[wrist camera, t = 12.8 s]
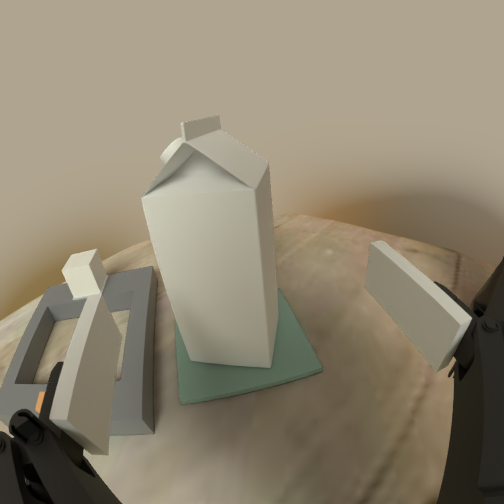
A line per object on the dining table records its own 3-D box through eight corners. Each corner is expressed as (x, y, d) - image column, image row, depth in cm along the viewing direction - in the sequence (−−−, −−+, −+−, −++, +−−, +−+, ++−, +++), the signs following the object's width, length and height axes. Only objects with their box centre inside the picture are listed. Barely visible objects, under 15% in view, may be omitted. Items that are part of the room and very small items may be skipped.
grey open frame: (157, 281, 36) (144, 236, 33) (154, 433, 17) (116, 387, 14) (55, 300, 34) (37, 261, 30) (8, 427, 15) (-34, 384, 11)
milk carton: (278, 313, 28) (264, 111, 19) (271, 369, 22) (248, 114, 13) (211, 311, 29) (175, 122, 20) (190, 362, 23) (126, 134, 14)
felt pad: (279, 292, 32) (279, 287, 32) (322, 371, 22) (323, 367, 22) (175, 313, 30) (174, 309, 30) (181, 404, 20) (179, 401, 20)
